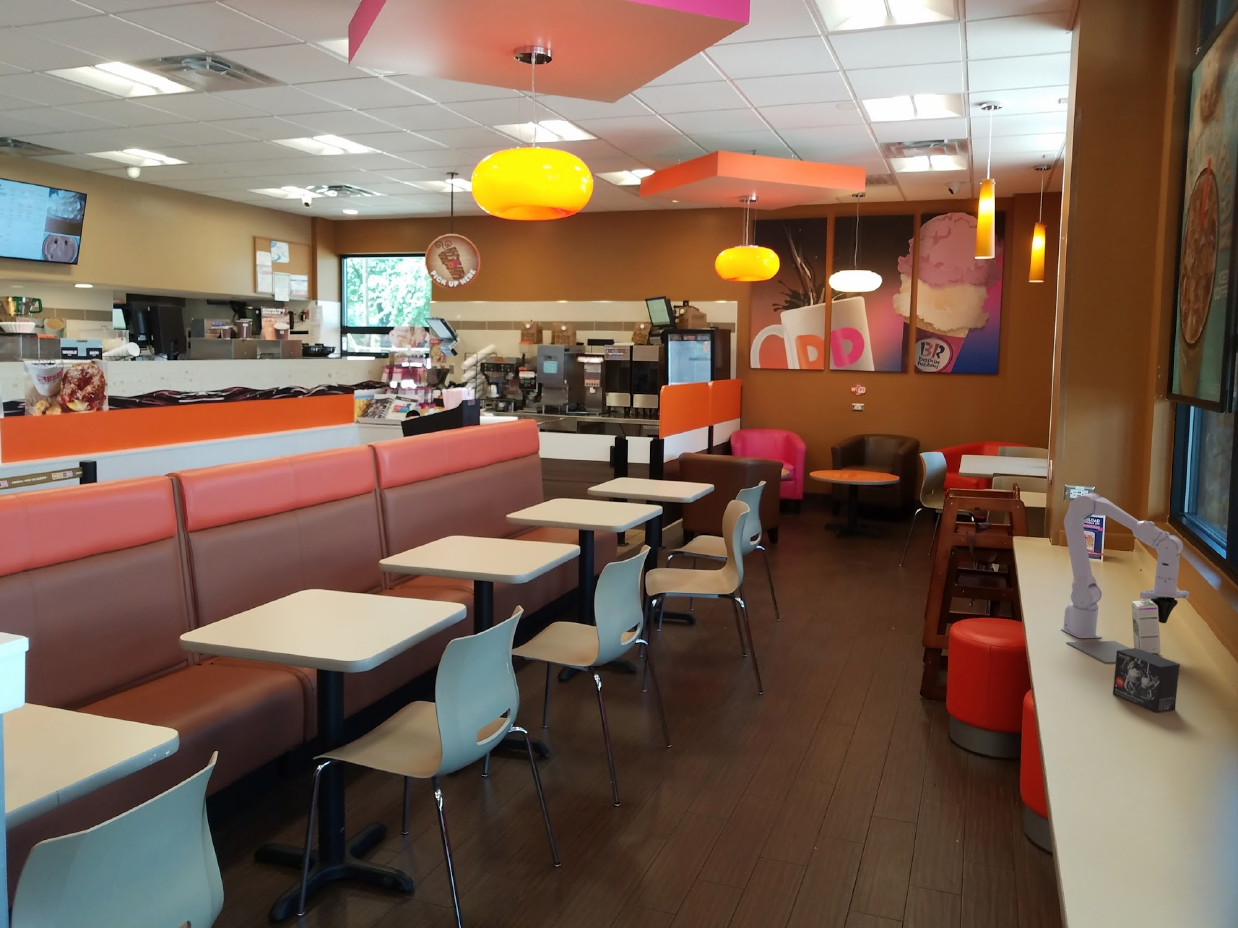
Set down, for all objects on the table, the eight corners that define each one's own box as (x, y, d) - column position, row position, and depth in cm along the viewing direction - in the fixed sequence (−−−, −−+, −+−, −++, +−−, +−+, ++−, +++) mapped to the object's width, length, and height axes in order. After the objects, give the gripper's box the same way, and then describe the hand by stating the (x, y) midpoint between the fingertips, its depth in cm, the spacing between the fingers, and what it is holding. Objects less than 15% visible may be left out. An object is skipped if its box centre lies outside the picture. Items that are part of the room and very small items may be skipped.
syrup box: (1161, 653, 276) (1159, 604, 274) (1139, 653, 277) (1137, 605, 275) (1154, 646, 281) (1152, 599, 280) (1132, 647, 283) (1130, 600, 281)
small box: (1111, 694, 243) (1115, 649, 242) (1130, 691, 246) (1135, 647, 244) (1156, 713, 231) (1160, 666, 229) (1176, 710, 233) (1181, 663, 232)
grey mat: (1066, 643, 285) (1066, 641, 285) (1114, 642, 287) (1114, 640, 287) (1105, 663, 267) (1105, 661, 267) (1156, 662, 270) (1156, 660, 270)
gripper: (1154, 580, 272) (1149, 626, 274) (1198, 580, 274) (1193, 625, 276) (1137, 574, 279) (1132, 619, 281) (1180, 574, 281) (1176, 618, 283)
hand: (1161, 622), depth 279 cm, fingers closed
